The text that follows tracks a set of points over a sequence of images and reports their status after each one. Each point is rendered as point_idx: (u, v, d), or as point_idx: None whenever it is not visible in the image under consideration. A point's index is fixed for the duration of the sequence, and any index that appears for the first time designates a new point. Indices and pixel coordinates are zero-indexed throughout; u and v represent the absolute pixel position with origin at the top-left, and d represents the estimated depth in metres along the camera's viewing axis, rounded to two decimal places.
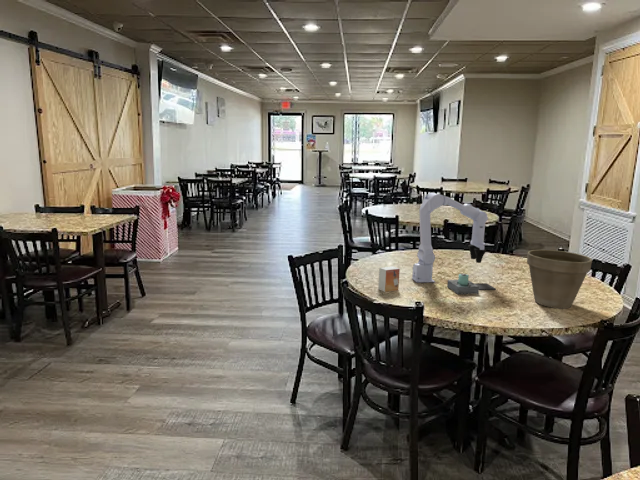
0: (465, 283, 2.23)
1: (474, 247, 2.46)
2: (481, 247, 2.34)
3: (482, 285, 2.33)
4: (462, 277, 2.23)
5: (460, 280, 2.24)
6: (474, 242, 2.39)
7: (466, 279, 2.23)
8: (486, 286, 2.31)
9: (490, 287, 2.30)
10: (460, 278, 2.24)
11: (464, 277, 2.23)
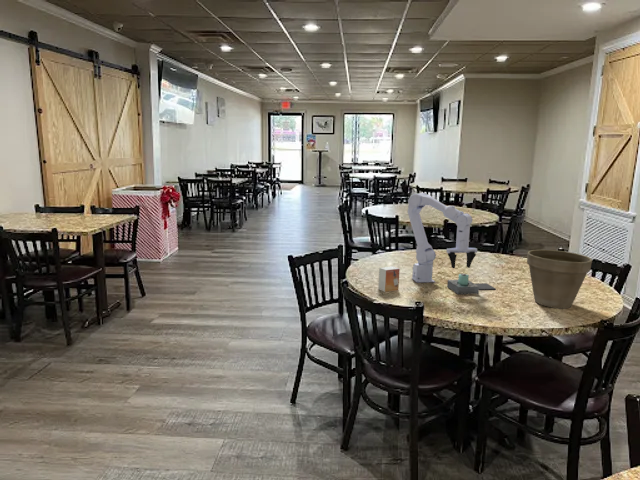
0: (465, 283, 2.23)
1: (468, 254, 2.28)
2: (447, 250, 2.26)
3: (482, 285, 2.33)
4: (462, 277, 2.23)
5: (460, 280, 2.24)
6: None
7: (466, 279, 2.23)
8: (486, 286, 2.31)
9: (490, 287, 2.30)
10: (460, 278, 2.24)
11: (464, 277, 2.23)
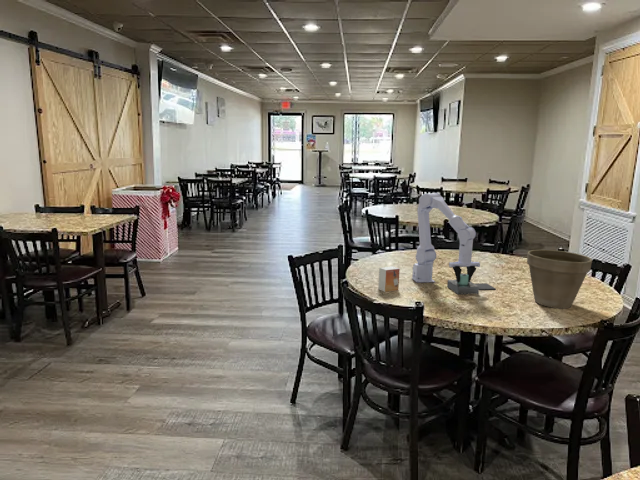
0: (465, 283, 2.23)
1: (469, 268, 2.25)
2: (449, 264, 2.23)
3: (482, 285, 2.33)
4: (462, 277, 2.23)
5: (460, 280, 2.24)
6: None
7: (466, 279, 2.23)
8: (486, 286, 2.31)
9: (490, 287, 2.30)
10: (460, 278, 2.24)
11: (464, 277, 2.23)
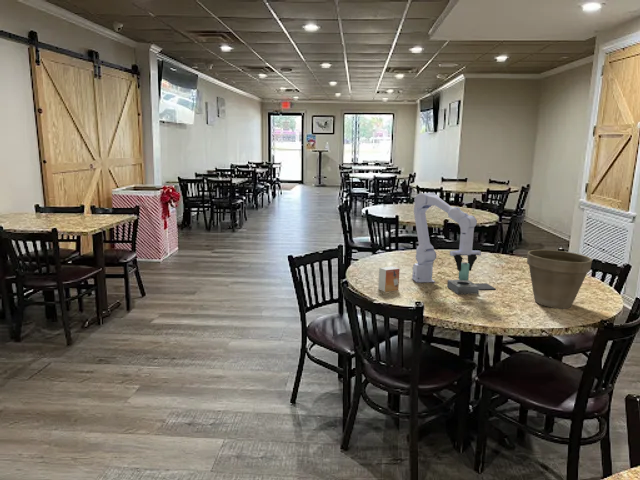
0: (466, 272, 2.22)
1: (470, 257, 2.24)
2: (450, 252, 2.22)
3: (482, 285, 2.33)
4: (463, 266, 2.22)
5: (461, 268, 2.23)
6: None
7: (467, 268, 2.22)
8: (486, 286, 2.31)
9: (490, 287, 2.30)
10: (461, 267, 2.23)
11: (465, 266, 2.22)
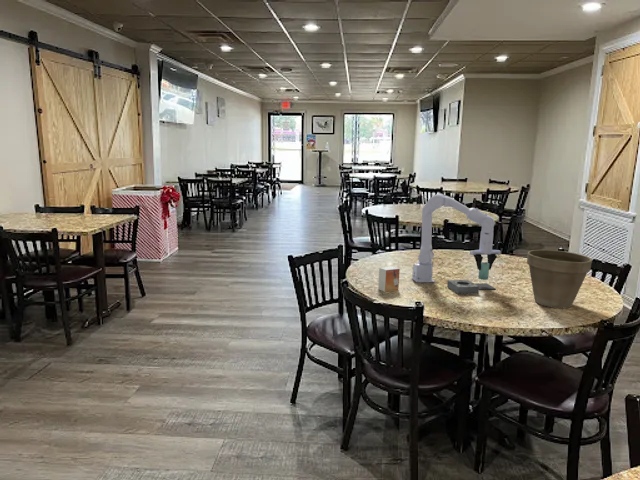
0: (486, 271, 2.28)
1: (489, 256, 2.29)
2: (470, 252, 2.28)
3: (482, 285, 2.33)
4: (483, 265, 2.28)
5: (481, 268, 2.29)
6: None
7: (487, 267, 2.28)
8: (486, 286, 2.31)
9: (490, 287, 2.30)
10: (481, 266, 2.29)
11: (485, 265, 2.28)
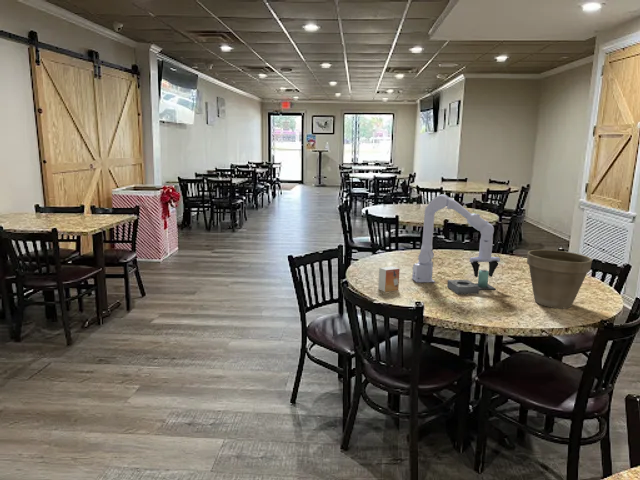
0: (485, 279, 2.29)
1: (491, 263, 2.30)
2: (470, 259, 2.29)
3: None
4: (482, 273, 2.29)
5: (480, 275, 2.29)
6: None
7: (486, 275, 2.29)
8: None
9: (490, 287, 2.30)
10: (480, 274, 2.29)
11: (484, 273, 2.28)
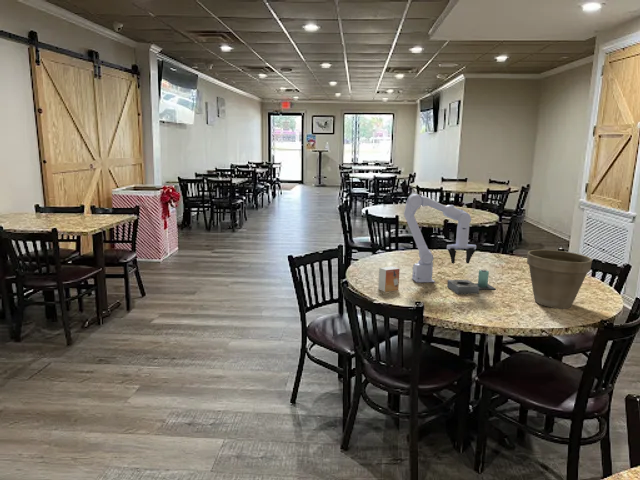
0: (485, 279, 2.29)
1: (468, 250, 2.38)
2: (447, 246, 2.36)
3: None
4: (482, 273, 2.29)
5: (480, 275, 2.29)
6: None
7: (486, 275, 2.29)
8: None
9: (490, 287, 2.30)
10: (480, 274, 2.29)
11: (484, 273, 2.28)
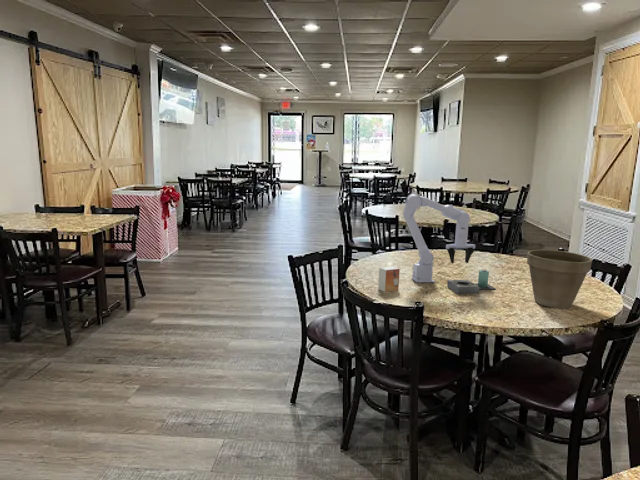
0: (485, 279, 2.29)
1: (467, 250, 2.38)
2: (446, 246, 2.36)
3: None
4: (482, 273, 2.28)
5: (480, 275, 2.29)
6: None
7: (486, 275, 2.28)
8: None
9: (490, 287, 2.30)
10: (480, 274, 2.29)
11: (484, 273, 2.28)
